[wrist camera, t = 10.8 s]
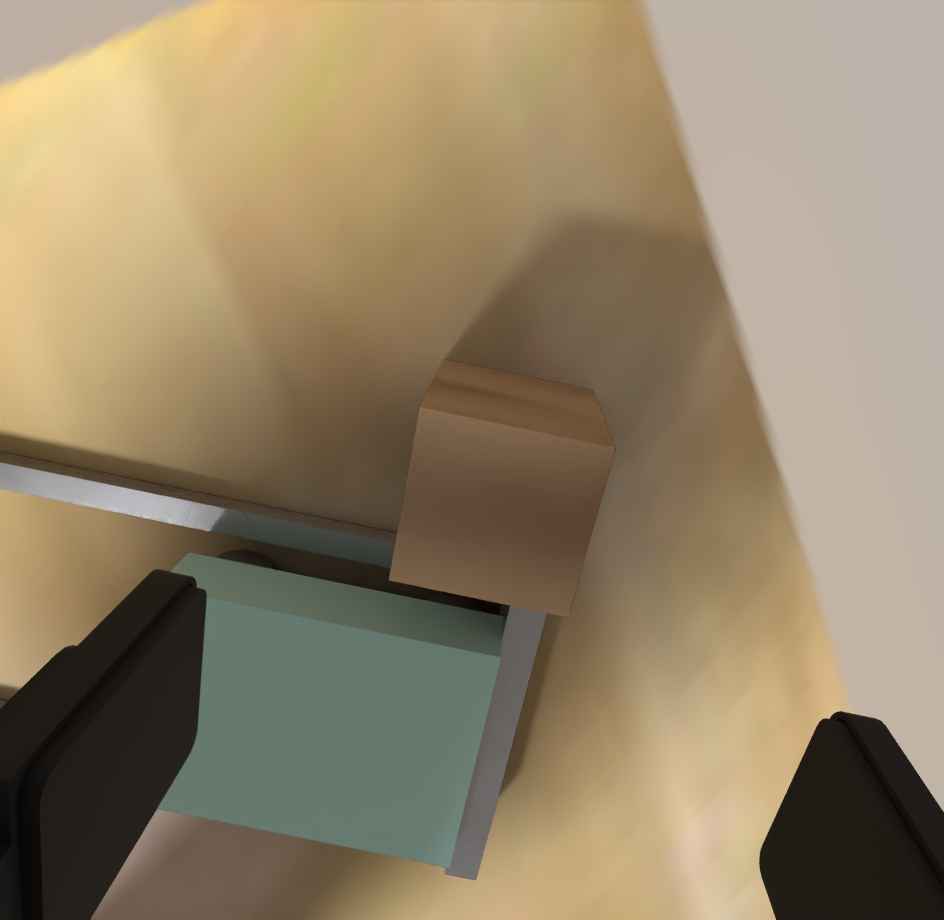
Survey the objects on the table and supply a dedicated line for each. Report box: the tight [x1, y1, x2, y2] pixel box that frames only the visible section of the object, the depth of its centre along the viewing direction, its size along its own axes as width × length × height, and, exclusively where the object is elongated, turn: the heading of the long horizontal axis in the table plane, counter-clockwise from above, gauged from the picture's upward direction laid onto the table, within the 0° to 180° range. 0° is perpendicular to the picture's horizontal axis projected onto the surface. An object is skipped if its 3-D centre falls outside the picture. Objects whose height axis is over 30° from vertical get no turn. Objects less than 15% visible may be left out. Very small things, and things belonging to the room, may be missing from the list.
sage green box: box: [157, 550, 503, 868], centre depth 26 cm, size 9×11×4 cm
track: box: [0, 452, 547, 880], centre depth 26 cm, size 12×26×3 cm, turn 79°
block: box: [389, 359, 616, 617], centre depth 22 cm, size 5×5×6 cm
